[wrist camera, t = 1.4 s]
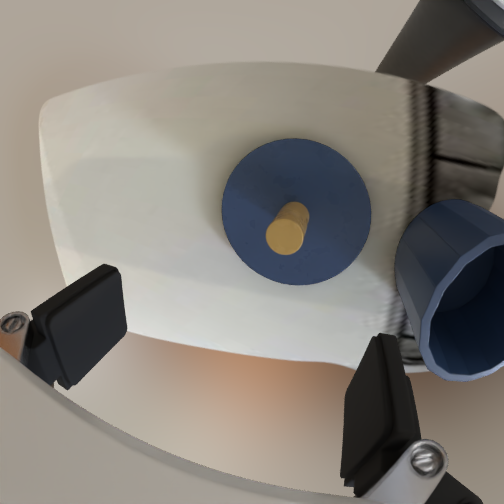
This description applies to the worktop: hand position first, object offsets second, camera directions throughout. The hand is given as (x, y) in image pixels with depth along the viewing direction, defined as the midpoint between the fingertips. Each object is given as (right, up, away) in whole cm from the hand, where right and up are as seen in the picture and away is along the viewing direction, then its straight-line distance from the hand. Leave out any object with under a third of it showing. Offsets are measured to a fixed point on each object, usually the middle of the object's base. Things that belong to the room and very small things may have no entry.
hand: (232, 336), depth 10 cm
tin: (+19, +2, +12) cm, 22 cm away
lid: (+4, +6, +14) cm, 16 cm away
